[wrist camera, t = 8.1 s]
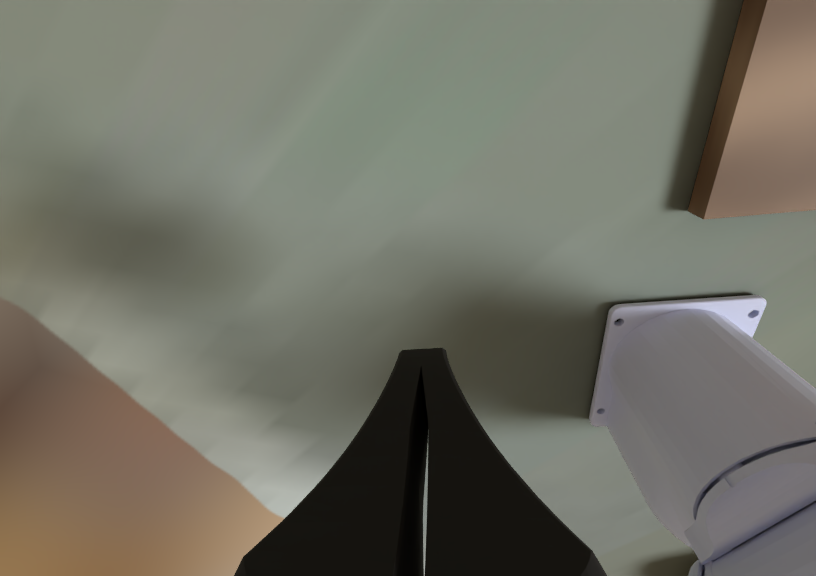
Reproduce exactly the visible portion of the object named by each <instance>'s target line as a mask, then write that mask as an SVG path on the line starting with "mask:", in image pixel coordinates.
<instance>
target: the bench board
mask: <svg viewBox="0 0 816 576" xmlns="http://www.w3.org/2000/svg"><path fill="white" fill-rule="evenodd" d="M807 210H816V0H744V2H743V5H742V9H741V13H740V17H739V20H738V24H737V28H736V32H735V35H734V39H733V43H732V47H731V50H730V54H729V58H728V62H727V65H726V69H725V73H724V77H723V80H722V84H721V88H720V92H719V95H718V99H717V103H716V107H715V110H714V114H713V118H712V122H711V125H710V129H709V133H708V137H707V140H706V144H705V148H704V152H703V155H702V159H701V163H700V167H699V170H698V174H697V178H696V182H695V185H694V189H693V193H692V197H691V200H690V204H689V208H688V212H690V213H692V214H694V215H696V216H698V217H700V218H702V219H713V218H725V217H737V216H748V215H760V214H772V213H784V212H796V211H807Z"/></svg>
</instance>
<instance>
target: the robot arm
mask: <svg viewBox="0 0 816 576" xmlns="http://www.w3.org/2000/svg"><path fill="white" fill-rule="evenodd" d="M766 303H767V302H766V300H765V299H764V298H762V297H761V296H759V295H746V296H731V297H716V298H702V299H687V300H672V301H657V302H643V303H628V304H618V305H615V306H613V307H612V308H611V309H610V310H609V313H608V318H607V323H606V329H605V334H604V340H603V345H602V350H601V356H600V361H599V367H598V372H597V377H596V383H595V388H594V394H593V399H592V404H591V410H590V415H589V421H590V423H591V424H592V425H593V426H597V427H599V426H607V427H608V429H609V431H610V433H611V435H612V437H613V439H614V441H615V443H616V444H617V446H618V448H619V450H620V452H621V454H622V456H623V458H624V460H625V462H626V464H627V466H628V467H629V469H630V471H631V473H632V475H633V477H634V479H635V481H636V483H637V485H638V487H639V489H640V490H641V492H642V494H643V496H644V498H645V500H646V502H647V504H648V506H649V507H650V509H651V510H652V512H653V514H654V515H655V516H656V517H657V519H658V520H659V521H660V522H661V523H662V524H663V525H664V526H665V527H666V528H667V529H668V530H669V531H670V532H671V533H672V534H673V535H674V536H676V537H677V538H678V539H679V540H681V541H682V542H683V543H685V544H686V545H688V546H689V547H691V548H692V549H693V550H694V552H695V554H696V555H697V557H698V559H699V560H697V561H696V562H695V563H694V564H693V565H692V566H691V568H690V571H689V574H688V576H816V388H814V387H813V386H812V385H811V384H809V383H808V382H807V381H806V380H804V379H803V378H802V377H801V376H799V375H798V374H797V373H795V372H794V371H793V370H792V369H790V368H789V367H788V366H787V365H785V364H784V363H783V362H782V361H780V360H779V359H778V358H777V357H775V356H774V355H773V354H772V353H770V352H769V351H768V350H767V349H765V348H764V347H763V346H762V345H760V344H759V343H758V342H757V341H755V340H754V339H753V338H752V337H753V335H754V332H755V330H756V328H757V325H758V323H759V321H760V318H761V316H762V314H763V311H764V309H765V307H766ZM751 311H752V312H751ZM750 312H751V313H750ZM617 319H620V320H619V321H618V322H615V321H616V320H617ZM600 408H601V409H600ZM428 430H429V434H428ZM427 442H428V501H427V534H426V561H425V576H607V575H606V573H605V571H604V570H603V568H602V566H601V565H600V563H599V561H598V559H597V558H596V556H595V554H594V553H593V551H592V550H591V549H590V548H589V547H588V546H587V545H586V544H584V543H583V542H582V541H581V540H580V539H579V538H578V537H577V536H576V535H575V534H574V533H573V532H572V531H571V530H570V529H569V528H568V527H567V526H566V525H565V524H564V523H563V522H562V521H561V520H560V519H559V518H558V517H557V516H556V515H555V514H554V513H553V512H552V511H551V510H550V509H549V508H548V507H547V506H546V505H545V504H544V503H543V502H542V501H541V500H540V499H539V498H538V497H537V496H536V494H535V493H534V492H533V491H532V490H531V489H530V487H529V486H528V485H527V484H526V483H525V482H524V481H523V479H522V478H521V477H520V476H519V475H518V474H517V472H516V471H515V470H514V469H513V468H512V467H511V465H510V464H509V463H508V462H507V460H506V459H505V458H504V456H503V455H502V454H501V453H500V451H499V450H498V449H497V447H496V446H495V444H494V443H493V442H492V440H491V439H490V438H489V436H488V435H487V433H486V432H485V430H484V429H483V427H482V426H481V424H480V423H479V421H478V419H477V418H476V416H475V415H474V413H473V411H472V410H471V408H470V406H469V404H468V403H467V401H466V399H465V397H464V395H463V393H462V391H461V390H460V388H459V386H458V384H457V381H456V379H455V377H454V375H453V372H452V370H451V367H450V365H449V362H448V358H447V354H446V350H444V349H443V348H432V349H415V350H402V351H401V352H400V353H399V356H398V359H397V361H396V364H395V366H394V369H393V371H392V373H391V375H390V378H389V380H388V382H387V384H386V386H385V388H384V390H383V391H382V393H381V395H380V397H379V399H378V401H377V403H376V404H375V406H374V408H373V409H372V411H371V413H370V414H369V416H368V418H367V419H366V421H365V423H364V424H363V426H362V427H361V429H360V430H359V432H358V433H357V435H356V436H355V438H354V439H353V441H352V442H351V443H350V445H349V446H348V447H347V449H346V450H345V451H344V453H343V454H342V455H341V457H340V458H339V459H338V460H337V462H336V463H335V464H334V465H333V467H332V468H331V469H330V470H329V471H328V473H327V474H326V475H325V476H324V477H323V479H322V480H321V481H320V482H319V483H318V484H317V485H316V487H315V488H314V489H313V490H312V491H311V492H310V493H309V494H308V495H307V496H306V497H305V498H304V499H303V500H302V501H301V502H300V503H299V505H298V506H297V507H296V508H295V509H294V510H293V511H292V512H291V513H290V514H289V515H288V516H287V517H286V518H285V519H284V520H283V521H282V522H281V523H280V524H279V525H278V526H277V527H275V528H274V529H273V530H272V531H271V532H270V533H269V534H268V535H267V536H266V537H265V538H263V539H262V540H261V541H260V542H259V543H258V544H257V545H256V546H255V547H254V548H253V549H252V550H250V551H249V552H248V553H247V554H246V555H245V556H244V557H243V559H242V561H241V563H240V565H239V567H238V569H237V571H236V573H235V575H234V576H424V569H423V498H424V484H425V470H426V457H427Z"/></svg>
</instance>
